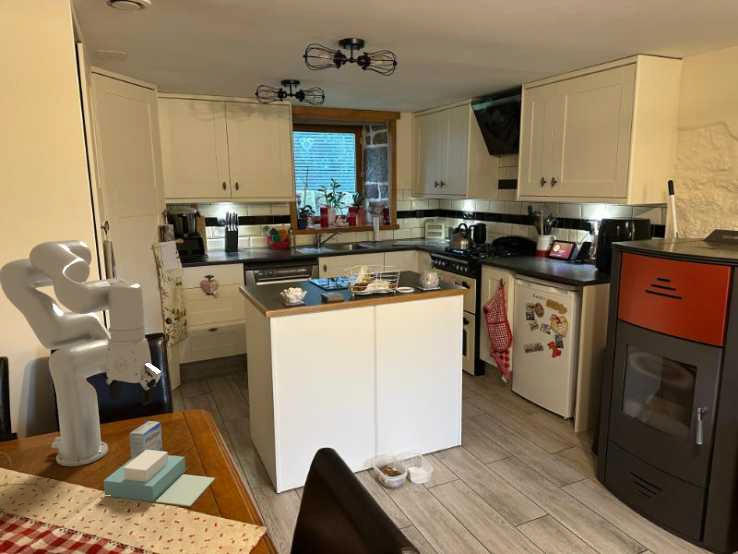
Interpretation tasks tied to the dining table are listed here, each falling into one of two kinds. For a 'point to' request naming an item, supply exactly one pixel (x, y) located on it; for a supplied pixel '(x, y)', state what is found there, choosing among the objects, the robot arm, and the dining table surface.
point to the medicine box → (146, 438)
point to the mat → (185, 490)
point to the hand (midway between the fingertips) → (132, 400)
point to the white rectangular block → (145, 465)
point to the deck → (145, 490)
